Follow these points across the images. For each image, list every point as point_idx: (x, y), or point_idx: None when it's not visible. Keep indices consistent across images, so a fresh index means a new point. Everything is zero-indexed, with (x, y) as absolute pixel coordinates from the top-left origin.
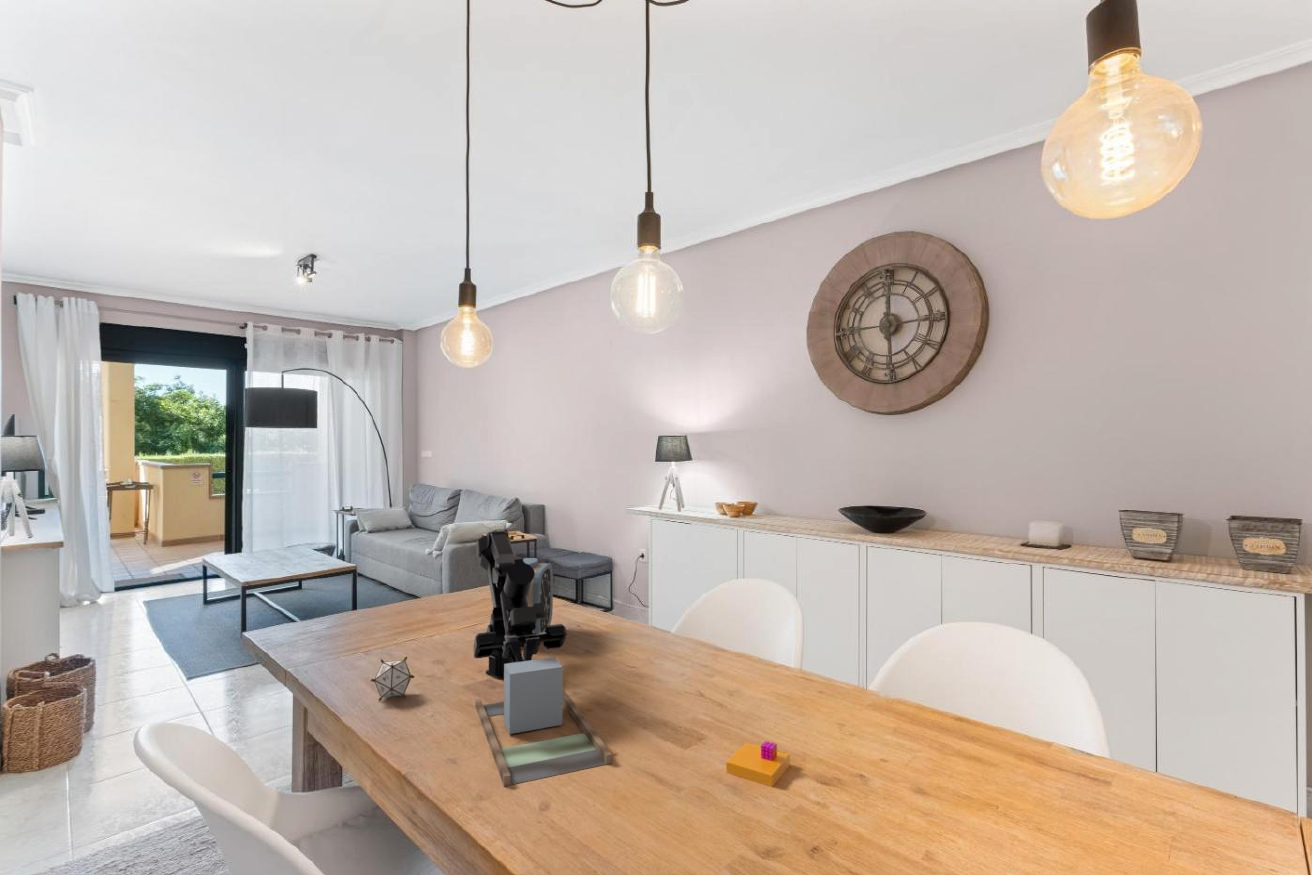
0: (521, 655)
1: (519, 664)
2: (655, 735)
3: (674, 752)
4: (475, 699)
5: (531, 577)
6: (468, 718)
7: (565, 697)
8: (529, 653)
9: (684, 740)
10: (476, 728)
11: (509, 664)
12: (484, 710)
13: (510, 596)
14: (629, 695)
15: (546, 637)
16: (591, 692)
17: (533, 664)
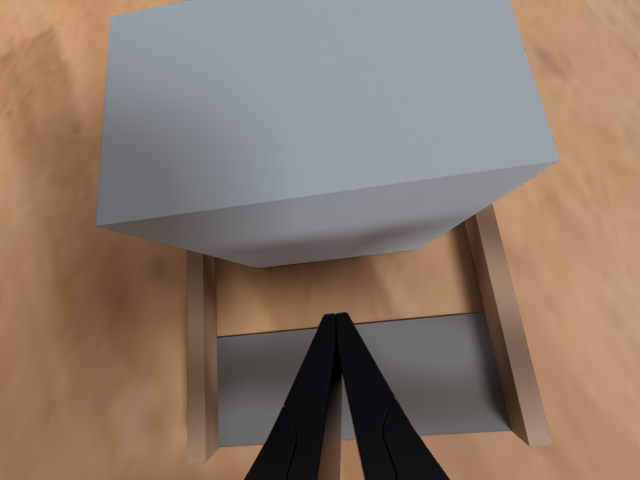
0: (369, 459)
1: (409, 120)
2: (73, 88)
3: (75, 19)
4: (550, 441)
5: None
6: (543, 319)
7: (199, 332)
8: (282, 476)
9: (34, 58)
10: (504, 232)
11: (504, 134)
12: (498, 305)
13: None
14: (17, 337)
15: None
16: (107, 408)
17: (292, 95)
